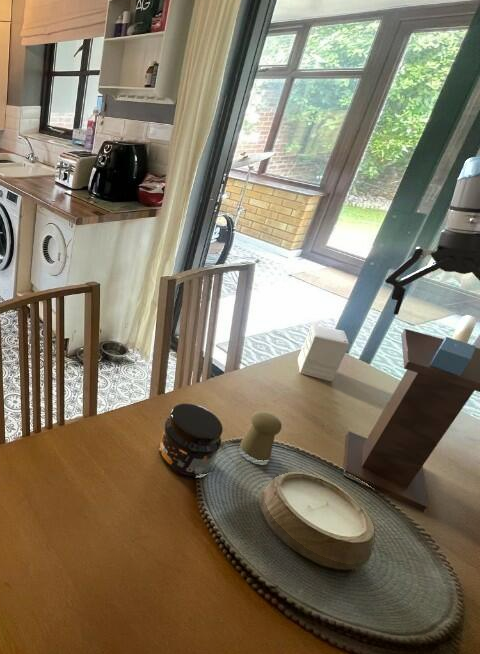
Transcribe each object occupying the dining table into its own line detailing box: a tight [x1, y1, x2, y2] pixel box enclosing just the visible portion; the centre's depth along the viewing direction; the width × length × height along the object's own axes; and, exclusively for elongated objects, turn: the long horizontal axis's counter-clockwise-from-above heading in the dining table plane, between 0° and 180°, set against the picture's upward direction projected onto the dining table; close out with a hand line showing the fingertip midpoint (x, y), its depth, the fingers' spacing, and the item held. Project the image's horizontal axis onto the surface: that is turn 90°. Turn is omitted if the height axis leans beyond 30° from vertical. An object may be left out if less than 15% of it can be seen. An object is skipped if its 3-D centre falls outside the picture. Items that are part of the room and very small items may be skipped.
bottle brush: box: [430, 315, 478, 376], centre depth 76 cm, size 4×25×4 cm, turn 126°
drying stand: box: [342, 328, 480, 513], centre depth 80 cm, size 12×14×30 cm
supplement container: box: [158, 403, 224, 480], centre depth 87 cm, size 10×10×12 cm
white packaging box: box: [297, 323, 350, 383], centre depth 113 cm, size 7×7×13 cm
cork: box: [239, 410, 282, 461], centre depth 88 cm, size 6×6×11 cm
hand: (437, 321), depth 94 cm, fingers open, 13 cm apart
